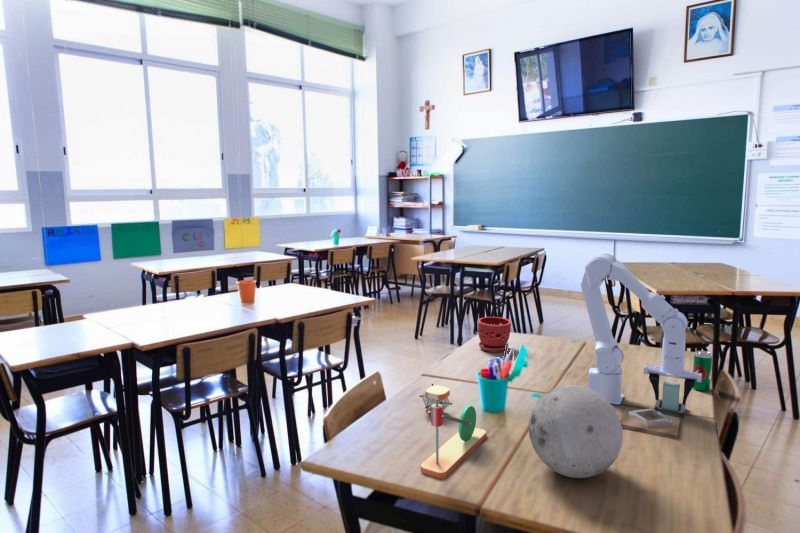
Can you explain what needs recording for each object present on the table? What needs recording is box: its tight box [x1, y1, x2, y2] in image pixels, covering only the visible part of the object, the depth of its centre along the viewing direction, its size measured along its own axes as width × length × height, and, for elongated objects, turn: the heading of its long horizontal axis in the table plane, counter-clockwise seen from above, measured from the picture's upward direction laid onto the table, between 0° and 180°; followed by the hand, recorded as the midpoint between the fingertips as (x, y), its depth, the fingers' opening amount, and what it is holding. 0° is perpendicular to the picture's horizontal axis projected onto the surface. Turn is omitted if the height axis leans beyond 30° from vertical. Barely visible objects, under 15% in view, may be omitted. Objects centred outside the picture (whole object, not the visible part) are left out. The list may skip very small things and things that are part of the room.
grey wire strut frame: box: [419, 383, 454, 413], centre depth 151 cm, size 9×8×10 cm
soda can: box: [692, 350, 713, 392], centre depth 165 cm, size 5×5×12 cm
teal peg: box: [661, 380, 681, 411], centre depth 150 cm, size 4×4×8 cm
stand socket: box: [653, 399, 686, 419], centre depth 150 cm, size 8×8×2 cm
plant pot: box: [477, 316, 512, 353], centre depth 211 cm, size 13×13×12 cm
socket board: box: [619, 407, 681, 440], centre depth 142 cm, size 14×12×2 cm
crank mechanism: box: [420, 384, 487, 479], centre depth 128 cm, size 25×7×19 cm, turn 147°
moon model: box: [528, 384, 624, 479], centre depth 118 cm, size 20×20×20 cm
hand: (670, 401), depth 150 cm, fingers open, 6 cm apart
